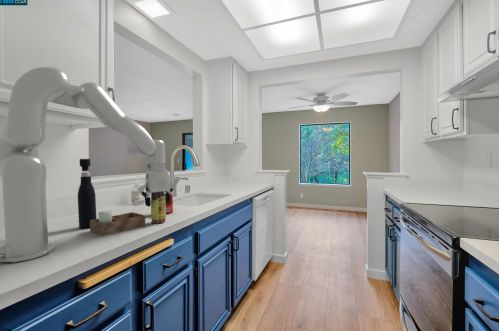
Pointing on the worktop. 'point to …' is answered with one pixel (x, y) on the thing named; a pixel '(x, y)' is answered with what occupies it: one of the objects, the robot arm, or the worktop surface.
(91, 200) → the black water bottle
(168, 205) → the canned food
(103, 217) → the pale green rounded block
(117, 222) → the walnut caddy
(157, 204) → the sauce bottle
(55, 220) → the worktop surface
